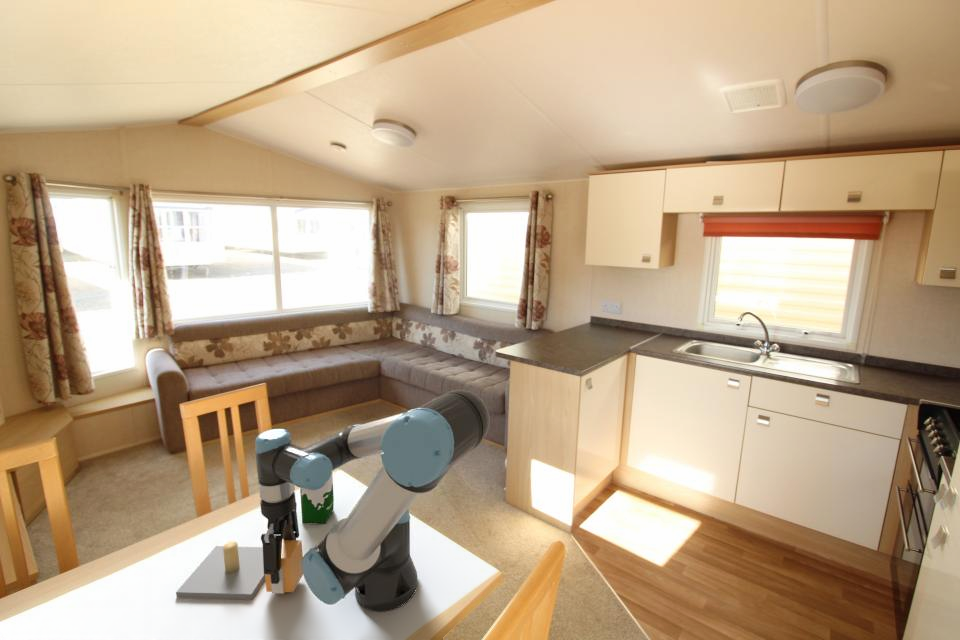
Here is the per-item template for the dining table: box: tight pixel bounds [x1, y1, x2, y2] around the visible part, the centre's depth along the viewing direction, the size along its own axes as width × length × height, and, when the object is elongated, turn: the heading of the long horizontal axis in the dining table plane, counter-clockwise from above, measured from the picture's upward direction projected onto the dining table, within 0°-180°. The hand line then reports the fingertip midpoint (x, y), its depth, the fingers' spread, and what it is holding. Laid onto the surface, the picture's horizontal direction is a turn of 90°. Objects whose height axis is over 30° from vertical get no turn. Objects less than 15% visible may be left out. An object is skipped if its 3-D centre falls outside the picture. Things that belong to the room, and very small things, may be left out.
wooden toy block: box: [264, 539, 304, 593], centre depth 109 cm, size 6×6×9 cm
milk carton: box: [299, 473, 335, 525], centre depth 136 cm, size 9×9×20 cm
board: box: [175, 541, 265, 601], centre depth 113 cm, size 18×16×8 cm
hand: (285, 580), depth 109 cm, fingers closed on wooden toy block, 6 cm apart
